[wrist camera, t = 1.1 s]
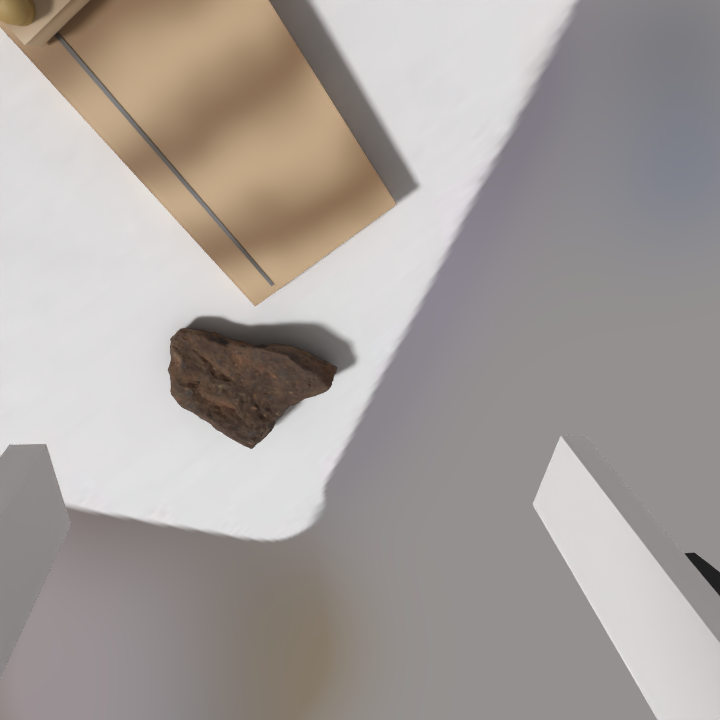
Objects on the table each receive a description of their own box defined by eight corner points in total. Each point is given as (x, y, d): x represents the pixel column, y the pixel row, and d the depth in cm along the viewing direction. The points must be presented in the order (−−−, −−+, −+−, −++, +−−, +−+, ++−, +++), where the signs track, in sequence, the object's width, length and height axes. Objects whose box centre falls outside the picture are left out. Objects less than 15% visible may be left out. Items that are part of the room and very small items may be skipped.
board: (-24, -18, 25) (-48, -25, 23) (144, -195, 22) (132, -218, 21) (256, 295, 35) (255, 306, 34) (390, 197, 33) (396, 204, 31)
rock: (337, 360, 39) (341, 385, 36) (253, 434, 42) (250, 462, 39) (231, 271, 34) (225, 290, 31) (144, 361, 37) (131, 387, 34)
